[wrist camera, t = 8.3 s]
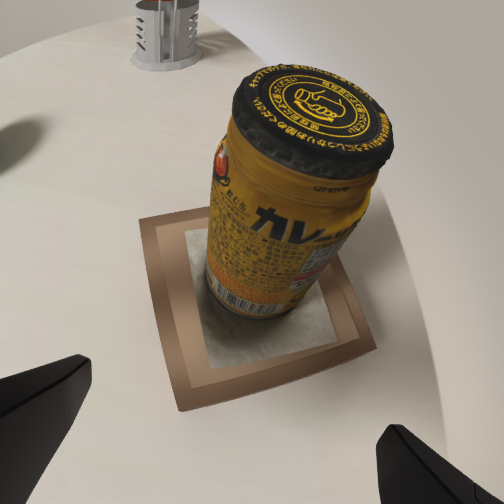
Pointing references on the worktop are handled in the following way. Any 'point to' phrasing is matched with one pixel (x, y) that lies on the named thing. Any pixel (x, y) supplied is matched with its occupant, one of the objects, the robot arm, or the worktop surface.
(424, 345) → the worktop surface
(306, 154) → the condiment
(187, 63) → the french press
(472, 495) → the robot arm
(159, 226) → the walnut base
